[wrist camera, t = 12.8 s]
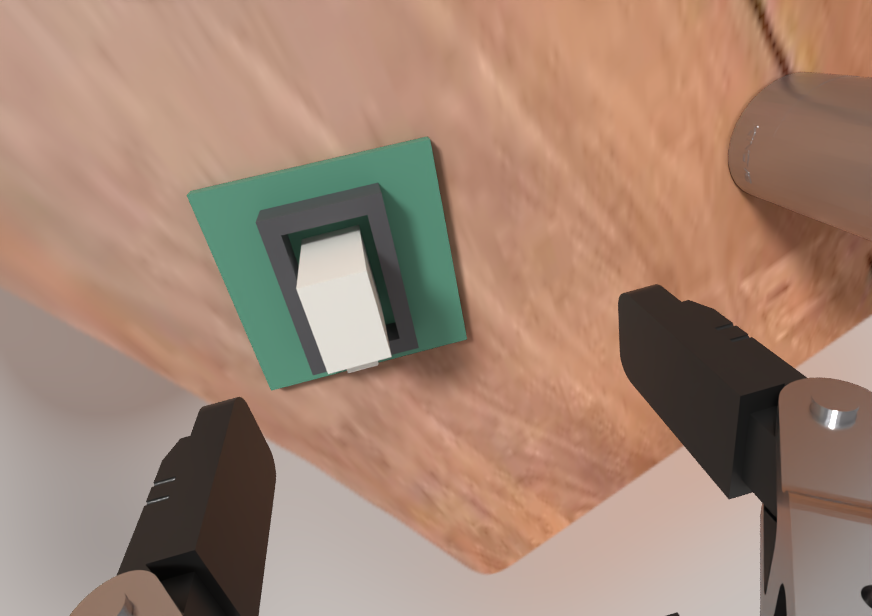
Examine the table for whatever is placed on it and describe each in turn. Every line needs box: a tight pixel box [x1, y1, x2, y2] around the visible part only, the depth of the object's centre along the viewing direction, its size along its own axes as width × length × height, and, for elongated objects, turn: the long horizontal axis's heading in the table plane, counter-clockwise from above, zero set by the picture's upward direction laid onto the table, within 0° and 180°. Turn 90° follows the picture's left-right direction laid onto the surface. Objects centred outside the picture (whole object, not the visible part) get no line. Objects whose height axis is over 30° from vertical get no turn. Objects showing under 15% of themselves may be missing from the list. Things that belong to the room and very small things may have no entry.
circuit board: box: [187, 137, 467, 390], centre depth 37 cm, size 16×16×4 cm
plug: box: [296, 225, 392, 374], centre depth 34 cm, size 4×7×8 cm, turn 12°
